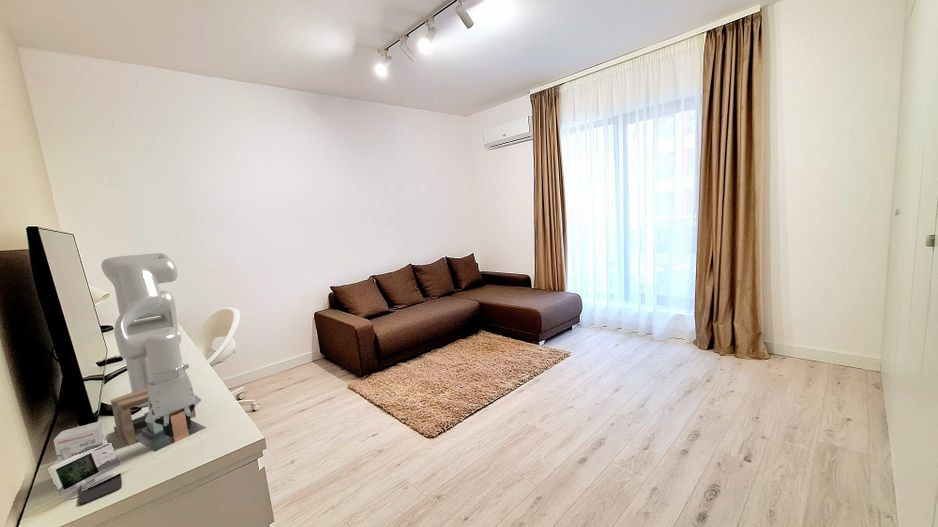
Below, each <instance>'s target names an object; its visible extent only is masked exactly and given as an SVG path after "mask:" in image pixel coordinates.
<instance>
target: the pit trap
mask: <svg viewBox="0 0 938 527" xmlns="http://www.w3.org/2000/svg"><path fill="white" fill-rule="evenodd" d="M132 422H133V427H134V431H135V430H137V429H140V428H142V427H145V426H146V422H145V415H144V414H143V415H141V416H138V417H136V418H134V419H133V418H132ZM113 431H114V433H115V434H117V429H116V426H113ZM117 435H118V434H117Z"/></svg>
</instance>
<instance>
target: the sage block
mask: <svg viewBox="0 0 938 527" xmlns="http://www.w3.org/2000/svg"><path fill="white" fill-rule="evenodd" d="M148 413H149V411H148V412H145V413H143V416H144V415H145V419H146V417H147V415H148ZM154 418H160V417H156V416H155V415H154ZM145 426H146V427H147V430H148V431H150V432H152V433H153V434H155V433H157V432H159V431H162V430H163V425H161V424H157V423H147V422H146V425H145Z"/></svg>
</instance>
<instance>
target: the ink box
mask: <svg viewBox="0 0 938 527" xmlns="http://www.w3.org/2000/svg"><path fill="white" fill-rule="evenodd" d="M53 444H54V450H55V455H56V459H57V463H58V462H60V461H62V460H65V459H67V458H70V457H72V456H74V455H77V454H81V453H84V452H87V451H89V450H91V449H94V448H97V447H99V446H102V445H105V444H108V440H107V435H106V430H105V427H104V422H103V421H96V422H92V423H88V424H85V425H80V426H76V427H73V428H69V429H65V430H62V431H61V432H59V433H58V435H56V436H55V437H54V438H53Z"/></svg>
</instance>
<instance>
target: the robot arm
mask: <svg viewBox="0 0 938 527" xmlns="http://www.w3.org/2000/svg"><path fill="white" fill-rule="evenodd" d="M100 266H101V270H102V273H103V274H104V276H105V277H106V278H107V279H108V280H109V281H110V282H111V284H112V285H113V288H114V291H115V296H116V303H117V308H118V313H119V315H118V317H117V319H116V321H115V324H114V329H113V330H114V332H113V333H114V337H115V343H116V345H117V349H118V353H119V355H120V357H121V358H122V359H123V360H125V364H126V369H127V375H128V379H129V380H128V381H129V385H130V389H131V393H132V392H135V391H138V390H141V389H144V388H147V387H148V402H146V403H144V404H141V405H138V406H136V407H138V408H144V407H147V406H148V412H149V413H148V415H147V417H146V419H145V422H147V423H157V424H161V425H163V431H164V434H165V435H167V436H169V437H170V438H171V437H173V430H172V425H171V424H170V423H169V414H171V413H173V412H175V411H178V410H180V409H181V410H183V411H185V417H186V422H187V428H188V429H190V425H191V418H190V415H191V412H192V411H193V409H194V408H196V407H197V406H198V404H200V402H202V399H201V398H200V397H198V396H197V395H196V394H195V390H194V387H193V385H192V382H191V381H192V380H190V377H189V375H188V373H187V372H186V370H187V369H190V366H189V364H188V363H187V364H183V358H182V353H181V348H180V347H181V346H180V344H181V342H182V336H181V333H180V331H179V327H178V326H179V325H178V316H177V310H176V309H177V308H176V302H175V298H174V296H173V294H172V293H171V292H169V290H160V288H159V287H160V286H159V284H160V285H161V284H167V283H173V282H175V281H176V280H177V278H178V269H177V266H176V264H175V262H174V261H173V260H172V258H170V257H169V256H168V255H167V254H166V253H163V252H162V253H161V252H157V253H156V252H155V253H154V252H153V253H145V254H144V253H143V254H131V255H130V254H129V255H119V256H113V257H109V258H108V257H107V258H105V259H103V260H102V261H101V265H100ZM154 415H155V416H156V417H160V418H154Z"/></svg>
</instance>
